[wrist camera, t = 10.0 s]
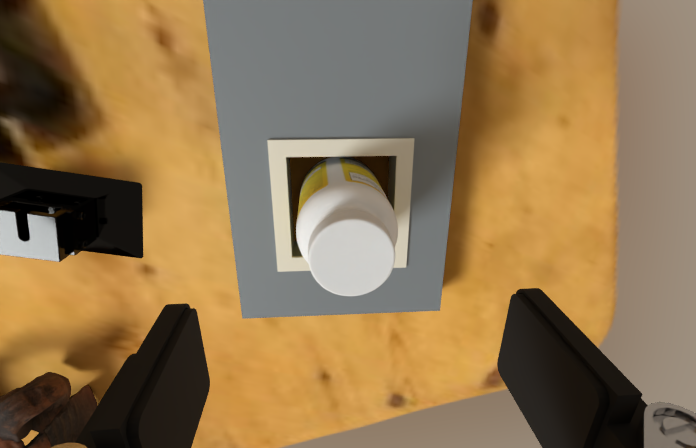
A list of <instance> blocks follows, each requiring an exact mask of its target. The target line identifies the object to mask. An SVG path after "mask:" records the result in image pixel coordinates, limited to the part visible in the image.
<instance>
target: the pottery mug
mask: <svg viewBox="0 0 696 448" xmlns="http://www.w3.org/2000/svg"><path fill="white" fill-rule="evenodd" d="M70 395H71V386H70V382H69V380H68V379H67V378H66V377H64V376H62V375H59V374H56V373H52V372H47V373H45V374H44V375H42V376H39V377H37V378H35V379H34V380H32V381H31V382H30V383H27V384H26V385H25V386H23V387H21V388H16V389H14V390H12V391H11V392H9V393H7V394H5V395H3V396H0V448H51V447H53V446H55V445H60V444H64V443H75V441H76V440H77V438H78V437H79V435H80V433H81V432H82V430H83V429H84V427H85V425H86V424H87V422H88V421H89V419H90V417H91V416H92V414H93V412H94V411H95V409H96V408H97V402H96V399H95V398H94V395H93V392H92V390H91V389H90V387H89V386H84V387H83V388H82V389H81V390H80V391H79V392H78V393H77V394H75V395H73V396H71V397H70ZM31 430H34V431H37V432H39V434H38V435H37V436H36V437H35V438H34V439H33V440H31V442H30V443H29V444H28V445H26V446H25V445H24V442H23V441H22V440H21V439H23V438H25V437H26V436H27V435H28V434H29V432H30V431H31Z"/></svg>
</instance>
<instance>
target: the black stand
mask: <svg viewBox="0 0 696 448" xmlns="http://www.w3.org/2000/svg"><path fill="white" fill-rule="evenodd" d="M80 251H89V252H97V253H105V254H112V255H120V256H128V257H136V258H142V257H143V216H142V185H141V184H140V183H137V182H130V181H123V180H116V179H110V178H103V177H96V176H89V175H82V174H75V173H69V172H62V171H55V170H48V169H41V168H34V167H28V166H21V165H14V164H7V163H0V255H7V256H16V257H24V258H32V259H40V260H48V261H57V262H60V261H62V260H63V259H64V258H66V257H67V256H69V255H76V254H78V253H79V252H80Z"/></svg>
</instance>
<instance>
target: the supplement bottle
mask: <svg viewBox="0 0 696 448" xmlns="http://www.w3.org/2000/svg"><path fill="white" fill-rule="evenodd" d="M296 238H297V243H298V247H299V249H300V252H301V254H302V256H303V257H304V259H305V260H306V261H307V263H308V264H309V268H310V271H311V273H312V275H313V277H314V278H315V280H316V281H317V282H318V283H319V284H320V285H321V286H322V287H323V288H324V289H326V290H328V291H330V292H332V293H334V294H337V295H342V296H359V295H363V294H366V293H369V292H371V291H373V290H375V289H376V288H378V287H379V286H380V285H382V284H383V283H384V282H385V281H386V280H387V278H388V277H389V275H390V274H391V272H392V269H393V267H394V263H395V246H396V243H397V238H398V224H397V219H396V216H395V213H394V210H393V208H392V206H391V204H390V202H389V201H388V199H387V197H386V195H385V193H384V191H383V190H382V188H381V186H380V184H379V182H378V181H377V179H376V177H375V175H374V174H373V172H372V171H371V170H370V169H369V168H368V167H367V166H366V165H365V164H363V163H362V162H360V161H358V160H356V159H353V158H350V157H344V156H340V157H331V158H327V159H325V160H322V161H320V162H319V163H317V164H316V165H315V166H313V167H312V168H311V169H310V170H309V172H308V173H307V174H306V176H305V178H304V180H303V183H302V186H301V190H300V199H299V208H298V216H297V223H296Z"/></svg>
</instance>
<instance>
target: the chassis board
mask: <svg viewBox="0 0 696 448" xmlns="http://www.w3.org/2000/svg"><path fill="white" fill-rule="evenodd" d="M472 2H473V0H203V3H204V11H205V19H206V27H207V35H208V43H209V51H210V59H211V67H212V76H213V84H214V92H215V100H216V108H217V116H218V124H219V132H220V140H221V149H222V157H223V165H224V173H225V181H226V189H227V197H228V205H229V213H230V222H231V230H232V238H233V246H234V254H235V262H236V270H237V278H238V286H239V294H240V303H241V311H242V318H266V317H291V316H316V315H341V314H366V313H391V312H416V311H440V304H441V295H442V285H443V276H444V266H445V257H446V247H447V238H448V229H449V219H450V210H451V200H452V191H453V181H454V172H455V162H456V153H457V144H458V134H459V125H460V115H461V106H462V96H463V87H464V78H465V68H466V59H467V49H468V40H469V30H470V21H471V11H472ZM340 156H389V175H388V201H389V202H390V204H391V206H392V208H393V210H394V213H395V216H396V219H397V224H398V238H397V243H396V246H395V263H394V267H393V269H392V272H391V274H390V275H389V277H388V278H387V280H386V281H385V282H384V283H383V284H382V285H380V286H379V287H378V288H376V289H375V290H373V291H371V292H369V293H366V294H363V295H359V296H342V295H337V294H334V293H332V292H330V291H328V290H326V289H324V288H323V287H322V286H321V285H320V284H319V283H318V282H317V281H316V280H315V278H314V277H313V275H312V273H311V271H310V268H309V264H308V263H307V261H306V260H305V259H304V257H303V256H302V254H301V252H300V249H299V247H298V243H297V241H294V224H293V206H292V189H291V172H290V157H340Z"/></svg>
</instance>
